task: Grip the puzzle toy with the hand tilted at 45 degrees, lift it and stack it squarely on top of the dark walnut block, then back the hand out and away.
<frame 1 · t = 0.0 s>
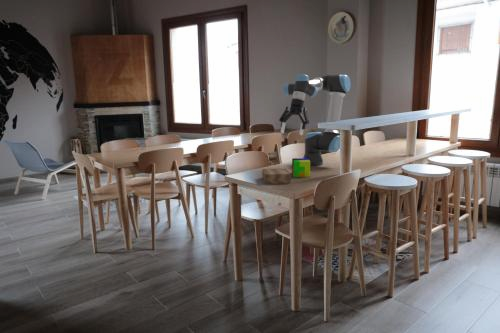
hand: (291, 133, 239), 28 cm above the table, tool tilted 20°, fingers open, 13 cm apart
walnut block: (275, 181, 240), on the table
puzzle toy: (300, 175, 254), on the table
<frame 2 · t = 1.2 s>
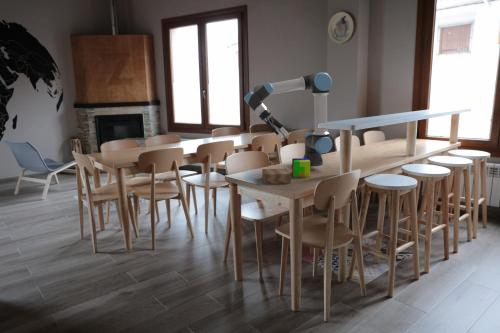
hand: (284, 136, 253), 24 cm above the table, tool tilted 45°, fingers open, 13 cm apart
nothing on the table moved.
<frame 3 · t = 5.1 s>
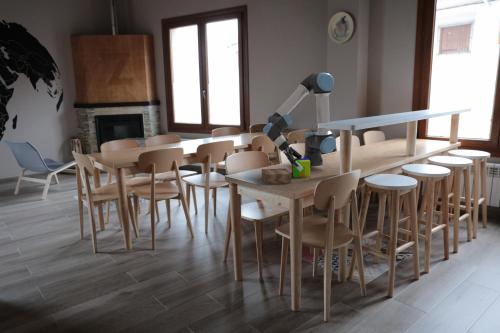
hand: (304, 168, 252), 5 cm above the table, tool tilted 45°, fingers open, 13 cm apart
nothing on the table moved.
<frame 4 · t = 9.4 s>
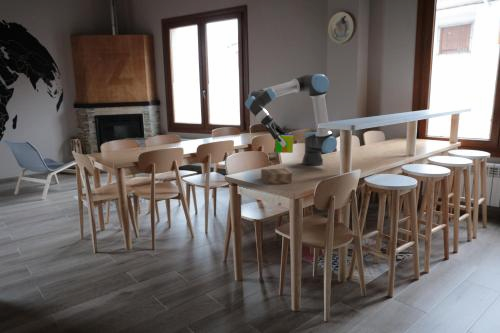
hand: (287, 144, 240), 22 cm above the table, tool tilted 45°, fingers closed on puzzle toy, 12 cm apart
puzzle toy: (283, 151, 242), point 17 cm above the table, touching gripper
everything else where it was.
when the fingers open (12 cm above the table, at t = 12.8 s): puzzle toy drops 2 cm, resting on walnut block.
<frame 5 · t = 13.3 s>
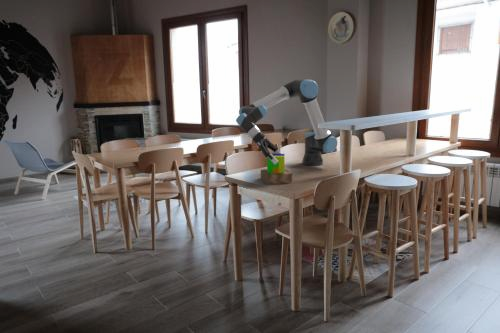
hand: (279, 161, 237), 12 cm above the table, tool tilted 45°, fingers open, 13 cm apart
walnut block: (275, 181, 240), on the table, touching puzzle toy
puzzle toy: (276, 171, 239), point 5 cm above the table, touching walnut block
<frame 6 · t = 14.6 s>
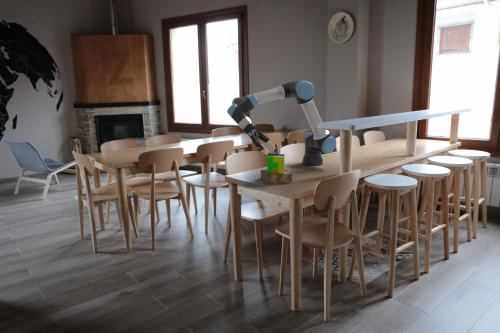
hand: (270, 151, 237), 18 cm above the table, tool tilted 45°, fingers open, 13 cm apart
walnut block: (275, 181, 240), on the table
puzzle toy: (275, 172, 238), point 5 cm above the table
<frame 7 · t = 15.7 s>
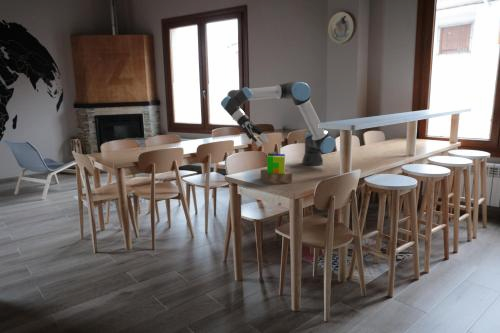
hand: (264, 143, 238), 22 cm above the table, tool tilted 45°, fingers open, 13 cm apart
nothing on the table moved.
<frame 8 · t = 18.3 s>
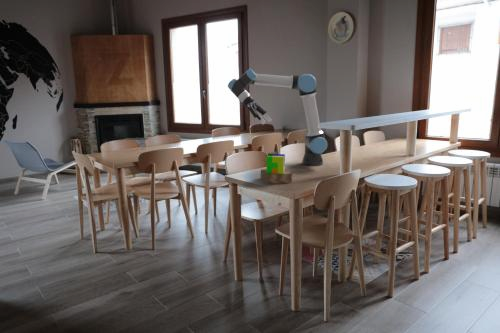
hand: (267, 122, 260), 33 cm above the table, tool tilted 45°, fingers open, 13 cm apart
walnut block: (275, 181, 241), on the table, touching puzzle toy
puzzle toy: (275, 172, 238), point 5 cm above the table, touching walnut block
at the end: puzzle toy inside the target area on the walnut block (1.0 cm from its centre), point 5.8 cm above the walnut block's base; puzzle toy tilted 0°; the gripper is holding nothing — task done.
